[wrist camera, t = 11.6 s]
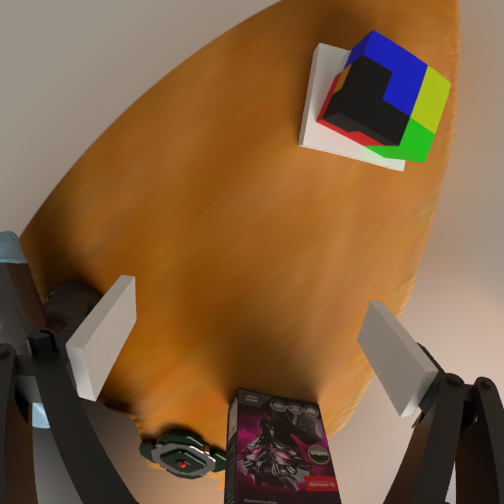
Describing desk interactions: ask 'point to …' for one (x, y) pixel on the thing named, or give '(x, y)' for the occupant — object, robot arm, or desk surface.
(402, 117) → the puzzle toy
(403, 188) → the desk surface
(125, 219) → the desk surface
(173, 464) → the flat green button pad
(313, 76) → the plinth
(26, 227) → the desk surface
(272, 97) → the desk surface
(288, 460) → the graphics card box
